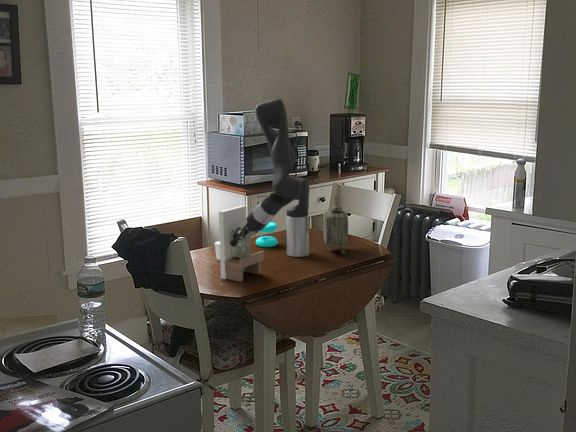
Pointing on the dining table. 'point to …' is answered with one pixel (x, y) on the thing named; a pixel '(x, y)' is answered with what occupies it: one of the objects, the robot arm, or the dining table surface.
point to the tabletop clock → (335, 227)
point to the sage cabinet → (241, 246)
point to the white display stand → (231, 265)
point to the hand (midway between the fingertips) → (237, 243)
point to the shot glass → (217, 249)
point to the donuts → (267, 240)
